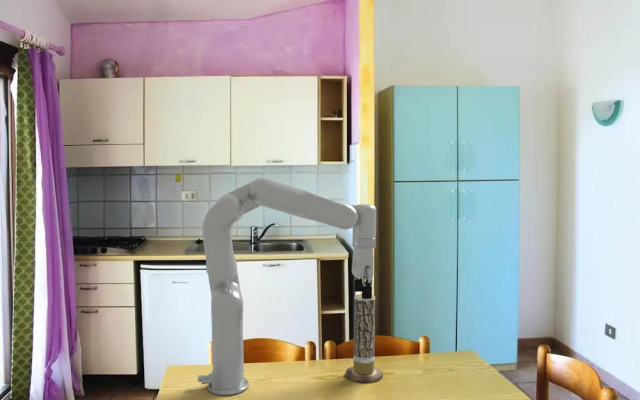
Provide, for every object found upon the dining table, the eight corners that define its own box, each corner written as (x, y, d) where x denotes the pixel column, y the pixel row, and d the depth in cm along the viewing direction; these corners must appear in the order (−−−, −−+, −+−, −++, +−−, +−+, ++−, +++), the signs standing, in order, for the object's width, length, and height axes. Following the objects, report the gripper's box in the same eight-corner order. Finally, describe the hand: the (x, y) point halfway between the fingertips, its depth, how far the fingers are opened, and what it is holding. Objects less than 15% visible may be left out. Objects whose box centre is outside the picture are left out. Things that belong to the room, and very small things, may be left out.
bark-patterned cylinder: (373, 376, 170) (374, 299, 169) (351, 374, 172) (352, 298, 170) (375, 368, 177) (376, 294, 175) (354, 367, 178) (355, 293, 177)
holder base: (350, 384, 168) (350, 380, 167) (342, 370, 179) (342, 366, 179) (387, 381, 170) (387, 377, 170) (376, 367, 181) (376, 363, 181)
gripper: (346, 239, 179) (345, 289, 181) (359, 246, 163) (358, 301, 164) (368, 239, 181) (366, 288, 182) (383, 246, 164) (381, 301, 165)
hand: (362, 294), depth 173 cm, fingers open, 9 cm apart
